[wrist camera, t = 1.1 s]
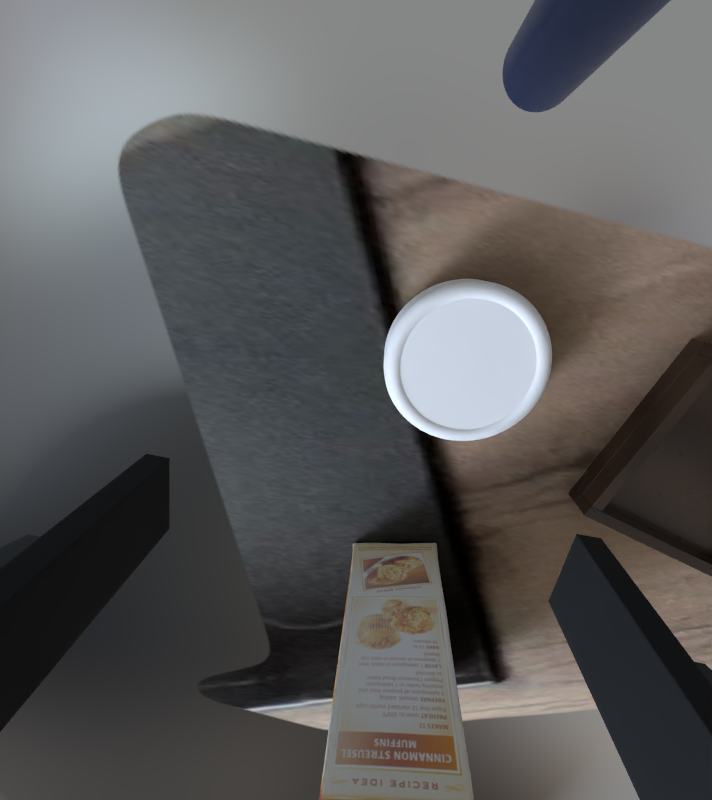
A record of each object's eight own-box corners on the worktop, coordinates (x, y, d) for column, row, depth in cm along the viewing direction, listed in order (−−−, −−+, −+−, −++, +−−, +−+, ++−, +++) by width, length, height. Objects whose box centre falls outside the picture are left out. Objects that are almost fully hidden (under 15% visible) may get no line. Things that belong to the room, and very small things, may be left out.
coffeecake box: (350, 541, 33) (298, 898, 14) (438, 539, 32) (502, 915, 14) (364, 673, 38) (339, 1066, 19) (441, 674, 37) (491, 1086, 18)
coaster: (393, 430, 29) (393, 451, 26) (375, 290, 26) (372, 294, 23) (535, 415, 28) (555, 435, 25) (534, 266, 25) (556, 267, 22)
